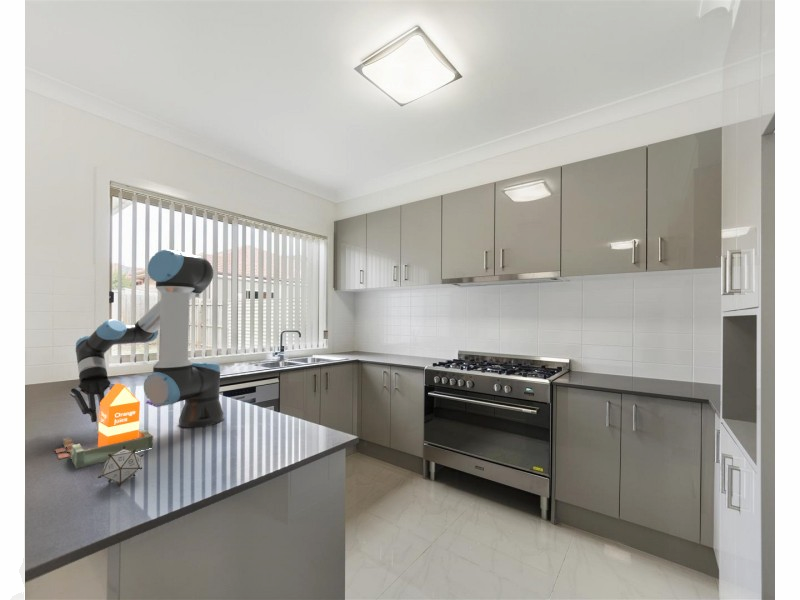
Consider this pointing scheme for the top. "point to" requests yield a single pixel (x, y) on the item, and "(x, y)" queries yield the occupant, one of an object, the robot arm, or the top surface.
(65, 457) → the trap strips
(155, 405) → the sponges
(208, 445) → the top surface
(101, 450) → the tray
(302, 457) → the top surface
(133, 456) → the game die
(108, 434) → the orange juice
